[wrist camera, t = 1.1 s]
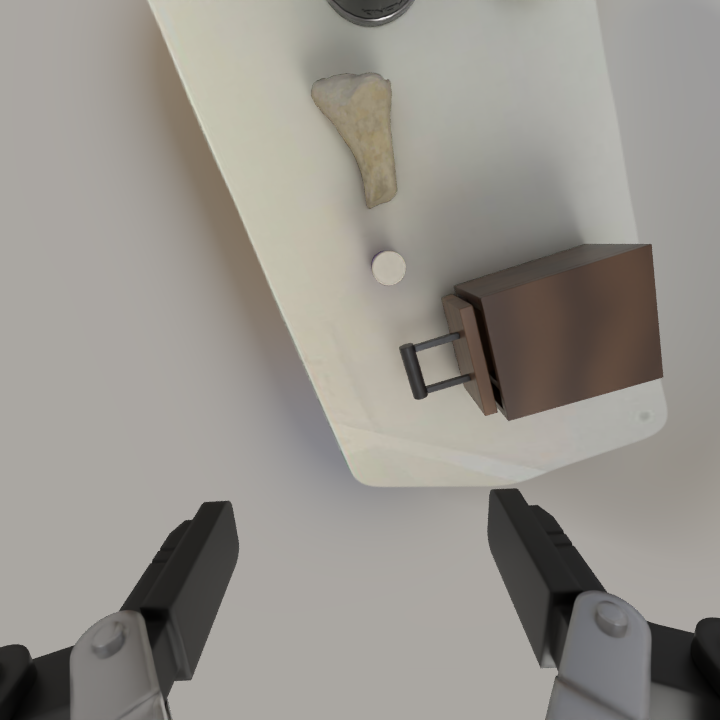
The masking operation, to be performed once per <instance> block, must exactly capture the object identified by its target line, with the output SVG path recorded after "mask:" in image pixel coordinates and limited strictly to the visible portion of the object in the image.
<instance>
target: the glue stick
mask: <svg viewBox="0 0 720 720" xmlns="http://www.w3.org/2000/svg"><path fill="white" fill-rule="evenodd" d="M371 266H372V273H373V275H374V277H375V279H376V280H377V281H378V282H379V283H381V284H383V285H394V284H397V283H398V282H400V281H401V280H402V278H403V277H404V275H405V272H406V264H405V261H404V259H403V257H402V256H401V255H400V254H398V253H397V252H394V251H381V252H379V253H377V254H376V255H375V256H374V258H373V260H372V264H371Z"/></svg>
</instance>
